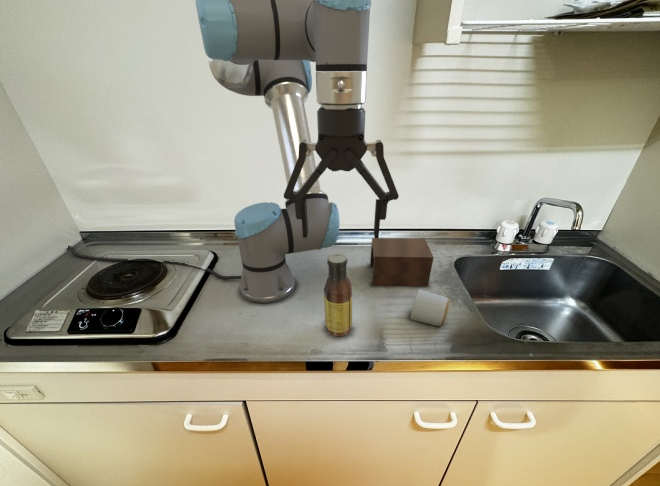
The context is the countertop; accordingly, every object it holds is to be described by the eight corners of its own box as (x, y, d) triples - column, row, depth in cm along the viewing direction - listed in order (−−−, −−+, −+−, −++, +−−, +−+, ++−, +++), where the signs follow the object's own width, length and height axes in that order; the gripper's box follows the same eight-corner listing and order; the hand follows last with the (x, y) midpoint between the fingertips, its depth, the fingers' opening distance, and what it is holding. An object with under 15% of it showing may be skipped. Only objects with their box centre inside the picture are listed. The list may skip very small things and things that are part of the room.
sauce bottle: (337, 318, 79) (336, 246, 68) (357, 328, 76) (360, 254, 65) (319, 331, 75) (316, 257, 64) (340, 342, 72) (340, 267, 61)
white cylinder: (442, 333, 75) (449, 307, 70) (408, 325, 77) (413, 299, 73) (447, 308, 83) (454, 283, 78) (416, 301, 85) (420, 277, 81)
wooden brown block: (372, 285, 92) (374, 256, 86) (370, 265, 101) (371, 237, 96) (427, 286, 91) (433, 257, 86) (420, 265, 101) (424, 238, 95)
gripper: (255, 108, 46) (272, 242, 58) (427, 108, 45) (408, 244, 57) (266, 104, 52) (280, 226, 64) (418, 104, 51) (402, 227, 64)
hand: (340, 235), depth 61 cm, fingers open, 13 cm apart
